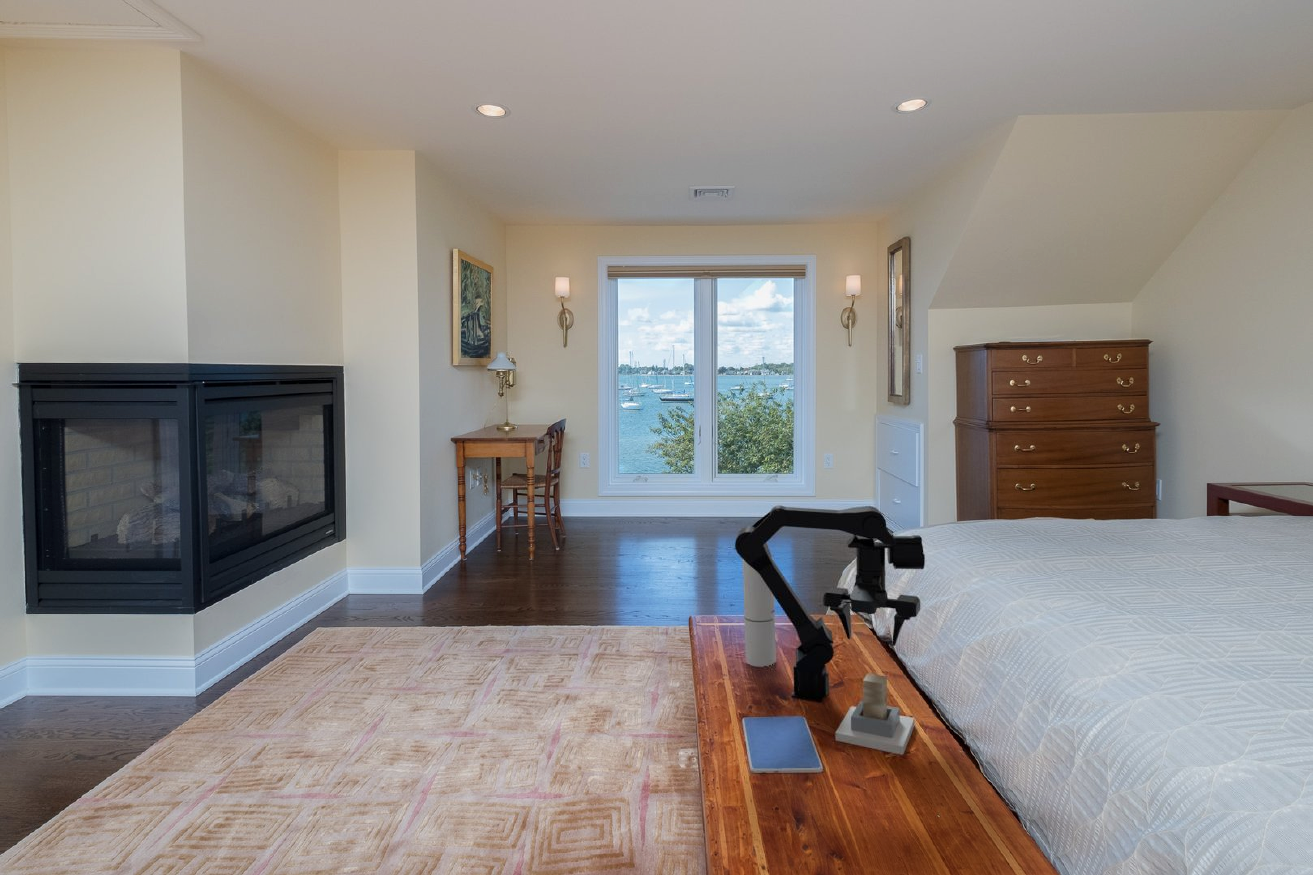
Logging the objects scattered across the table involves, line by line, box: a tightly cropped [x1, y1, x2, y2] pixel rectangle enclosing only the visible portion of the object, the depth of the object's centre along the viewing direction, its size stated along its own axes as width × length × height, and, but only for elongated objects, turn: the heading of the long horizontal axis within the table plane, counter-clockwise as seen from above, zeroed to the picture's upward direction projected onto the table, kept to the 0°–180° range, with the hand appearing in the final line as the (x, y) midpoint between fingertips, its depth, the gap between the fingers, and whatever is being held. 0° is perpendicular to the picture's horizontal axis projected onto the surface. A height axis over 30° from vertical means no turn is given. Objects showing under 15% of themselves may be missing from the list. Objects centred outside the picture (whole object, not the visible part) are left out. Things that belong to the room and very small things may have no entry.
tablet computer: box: [741, 716, 824, 774], centre depth 132 cm, size 19×13×1 cm, turn 178°
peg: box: [862, 673, 888, 721], centre depth 134 cm, size 4×4×9 cm
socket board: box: [835, 700, 916, 756], centre depth 135 cm, size 12×12×4 cm
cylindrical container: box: [742, 557, 777, 668], centre depth 170 cm, size 7×7×25 cm
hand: (871, 641), depth 149 cm, fingers open, 9 cm apart
